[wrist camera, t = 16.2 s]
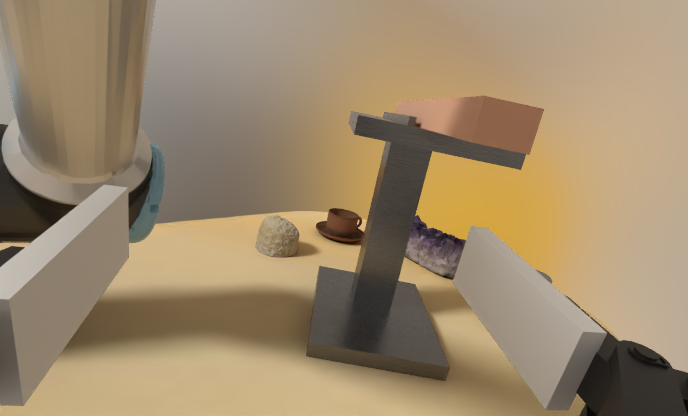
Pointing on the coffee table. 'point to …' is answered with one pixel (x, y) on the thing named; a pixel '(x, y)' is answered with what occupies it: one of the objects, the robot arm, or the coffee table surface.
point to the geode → (434, 249)
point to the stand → (388, 259)
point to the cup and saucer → (341, 226)
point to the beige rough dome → (277, 237)
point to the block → (478, 120)
